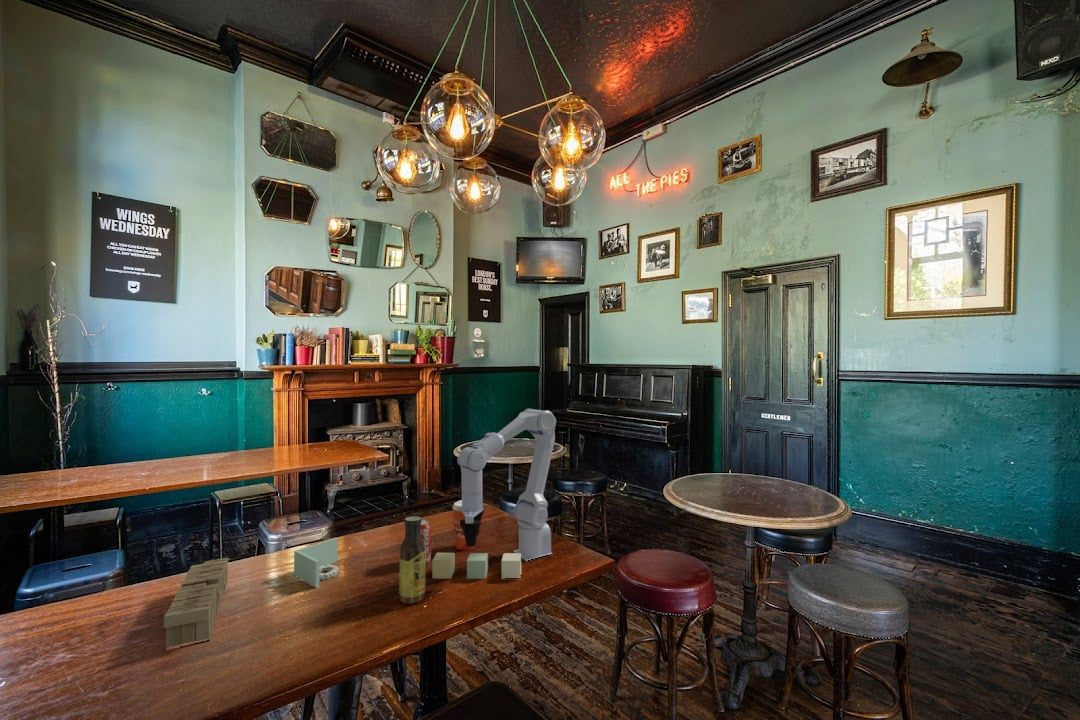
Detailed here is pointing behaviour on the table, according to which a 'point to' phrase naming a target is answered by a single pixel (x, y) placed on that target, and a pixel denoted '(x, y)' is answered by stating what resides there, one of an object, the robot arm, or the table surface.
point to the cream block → (511, 565)
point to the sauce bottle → (412, 563)
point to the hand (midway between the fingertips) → (472, 540)
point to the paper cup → (459, 527)
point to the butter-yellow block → (443, 565)
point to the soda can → (426, 537)
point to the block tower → (196, 603)
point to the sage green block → (477, 566)
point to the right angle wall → (316, 561)
